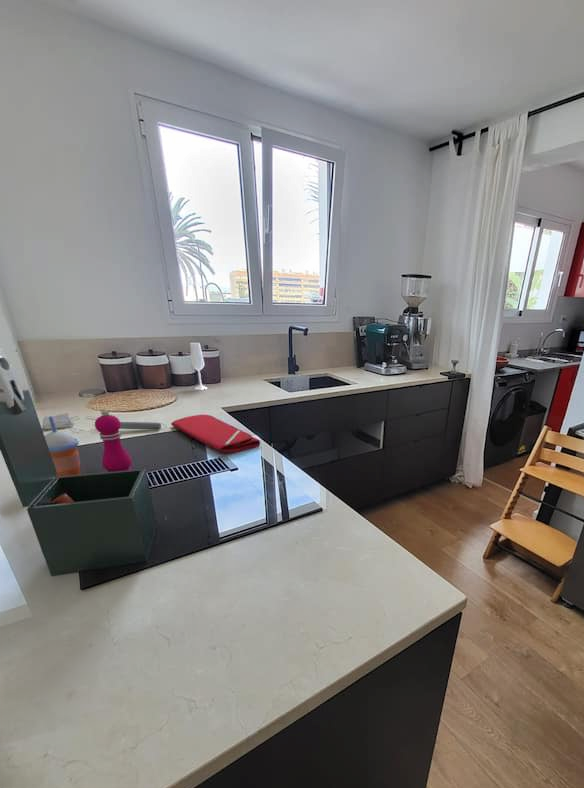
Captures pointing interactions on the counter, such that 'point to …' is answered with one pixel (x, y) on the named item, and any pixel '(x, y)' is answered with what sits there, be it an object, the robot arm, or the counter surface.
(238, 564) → the counter surface
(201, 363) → the champagne flute
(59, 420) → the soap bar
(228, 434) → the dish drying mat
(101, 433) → the pepper mill
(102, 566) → the bin
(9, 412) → the bin lid
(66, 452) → the cup with straw
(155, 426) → the kitchen whisk
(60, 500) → the orange cylinder
